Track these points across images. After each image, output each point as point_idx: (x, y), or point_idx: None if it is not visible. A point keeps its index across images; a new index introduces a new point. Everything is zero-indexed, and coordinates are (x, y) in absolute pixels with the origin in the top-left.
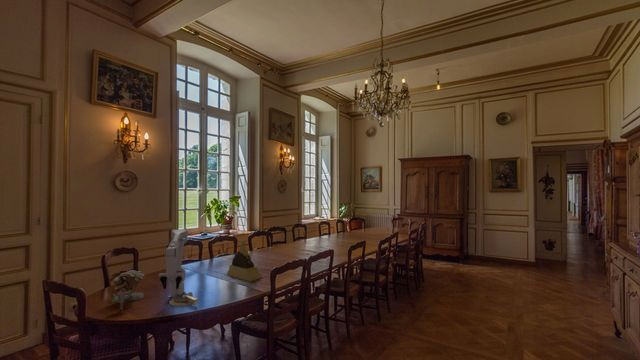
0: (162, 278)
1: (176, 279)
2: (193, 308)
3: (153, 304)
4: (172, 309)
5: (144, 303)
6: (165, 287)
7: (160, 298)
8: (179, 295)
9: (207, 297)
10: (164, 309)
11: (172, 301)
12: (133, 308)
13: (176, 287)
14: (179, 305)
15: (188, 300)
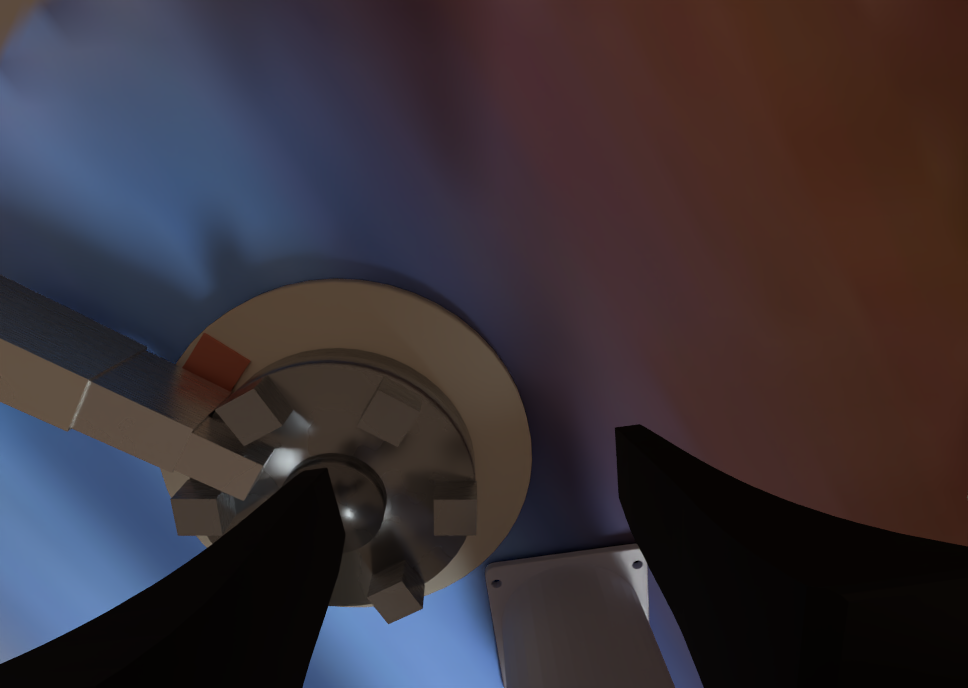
0: (896, 655)
1: (64, 677)
2: (14, 231)
3: (716, 303)
4: (311, 147)
5: (863, 321)
6: (626, 480)
7: None
8: (422, 519)
9: None
10: (438, 130)
11: (471, 393)
12: (949, 108)
13: (299, 487)
14: (285, 286)
15: (159, 377)
